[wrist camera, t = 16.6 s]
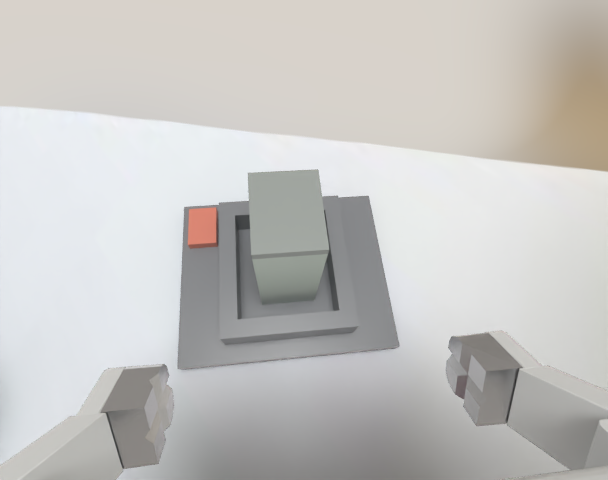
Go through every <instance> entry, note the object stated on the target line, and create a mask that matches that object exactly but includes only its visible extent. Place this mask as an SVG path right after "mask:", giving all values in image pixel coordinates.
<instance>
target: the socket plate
mask: <svg viewBox="0 0 608 480" xmlns="http://www.w3.org/2000/svg"><path fill="white" fill-rule="evenodd" d="M322 200H323V208H324V215H325V222H326V229H327V237H328V244H329V252H328V256H327V259H326V262H325V266H324V269H323V272H322V276H321V279H320V283H319V286H318V289H317V293H316V296H315V299H314V300H313V301H301V302H289V303H277V304H265V305H262V302H261V298H260V293H259V289H258V284H257V280H256V275H255V270H254V266H253V261H252V257H251V239H250V214H249V201H241V202H225V203H219V205H210V206H193V207H184V228H183V252H182V275H181V299H180V322H179V346H178V369H181V370H184V369H194V368H204V367H214V366H223V365H233V364H243V363H253V362H263V361H273V360H283V359H293V358H303V357H313V356H323V355H333V354H343V353H353V352H363V351H373V350H383V349H393V348H397V347H399V342H398V337H397V332H396V327H395V322H394V317H393V312H392V308H391V303H390V298H389V293H388V288H387V283H386V278H385V273H384V269H383V264H382V259H381V254H380V249H379V244H378V239H377V234H376V230H375V225H374V220H373V215H372V210H371V205H370V200H369V196H358V197H342V198H338V196H324V197H322Z"/></svg>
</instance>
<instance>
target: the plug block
mask: <svg viewBox="0 0 608 480" xmlns="http://www.w3.org/2000/svg"><path fill="white" fill-rule="evenodd" d="M248 188H249V214H250V239H251V257H252V261H253V266H254V270H255V275H256V280H257V284H258V289H259V293H260V298H261V302H262V305H265V304H277V303H289V302H301V301H313V300H314V299H315V296H316V293H317V289H318V286H319V283H320V279H321V276H322V272H323V269H324V266H325V262H326V259H327V256H328V252H329V244H328V237H327V229H326V222H325V215H324V208H323V200H322V193H321V186H320V179H319V171H318V169H317V170H298V171H278V172H258V173H248Z"/></svg>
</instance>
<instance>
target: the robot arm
mask: <svg viewBox="0 0 608 480" xmlns="http://www.w3.org/2000/svg"><path fill="white" fill-rule="evenodd" d="M448 348H449V350H450V351H451V352H452V355H451V356H450V357H449V359H448V360H447V363H446V374H447V379H448V382H449V384H450V387H451V388H452V390H453V392H454V393H455V394H456V395H457V396H459V397H461V398H462V399H464V405H463V407H464V408H465V410H466V411H467V413H468V414H469V416H470V417H471V419H472V420H473V422H474V423H475V425H476V426H483V425H494V424H506V423H507V425H508V426H509V427H511V428H512V429H513V430H515V431H516V432H518V433H519V434H520V435H522V436H523V437H525V438H526V439H527V440H529V441H530V442H532V443H533V444H534V445H536V446H537V447H539V448H540V449H542V450H543V451H544V452H546V453H547V454H549V455H550V456H551V457H553V458H554V459H556V460H557V461H558V462H560V463H561V464H563V465H564V466H566V467H567V468H568V469H570V471H562V472H555V473H547V474H539V475H532V476H524V477H517V478H509V479H502V480H608V391H607V390H604V389H602V388H600V387H597V386H595V385H593V384H590V383H588V382H585V381H583V380H581V379H578V378H576V377H574V376H571V375H569V374H566V373H564V372H562V371H559V370H557V369H555V368H552V367H550V366H542V365H541V364H540V363H539V362H538V361H537V360H536V359H534V358H533V357H532V356H531V355H530V354H529V353H528V352H527V351H526V350H525V349H524V348H523V347H521V346H520V345H519V344H518V343H517V342H516V341H515V340H514V339H513V338H512V337H511V336H510V335H508V334H507V333H506V332H504V331H493V332H485V333H480V334H471V335H461V336H452V337H451V339H450V341H449V347H448ZM168 378H169V373H168V369H167V366H166V365H165V364H156V365H143V366H129V367H119V368H108V369H107V370H105V371H104V372H103V373H102V375H101V376H100V378H99V380H98V381H97V383H96V384H95V386H94V388H93V389H92V391H91V393H90V394H89V396H88V397H87V399H86V401H85V402H84V404H83V405H82V407H81V409H80V410H79V412H78V414H77V415H76V416H70V417H68V418H67V419H66V420H64V421H63V422H61V423H60V424H58V425H57V426H56V427H54V428H53V429H51V430H50V431H49V432H47V433H46V434H44V435H43V436H41V437H40V438H39V439H37V440H36V441H34V442H33V443H32V444H30V445H29V446H27V447H26V448H24V449H23V450H22V451H20V452H19V453H17V454H16V455H15V456H13V457H12V458H10V459H9V460H7V461H6V462H5V463H3V464H2V465H0V480H116V479H117V478H118V476H119V475H120V474H121V473H122V472H123V469H127V468H133V467H140V466H147V465H154V464H159V461H160V457H161V454H162V451H163V447H164V444H165V441H166V439H165V435H164V431H165V430H166V429H167V428H168V427H169V426H170V424H171V421H172V417H173V409H174V398H173V392H172V388H170V387H169V386H168V385H167V381H168Z"/></svg>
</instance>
